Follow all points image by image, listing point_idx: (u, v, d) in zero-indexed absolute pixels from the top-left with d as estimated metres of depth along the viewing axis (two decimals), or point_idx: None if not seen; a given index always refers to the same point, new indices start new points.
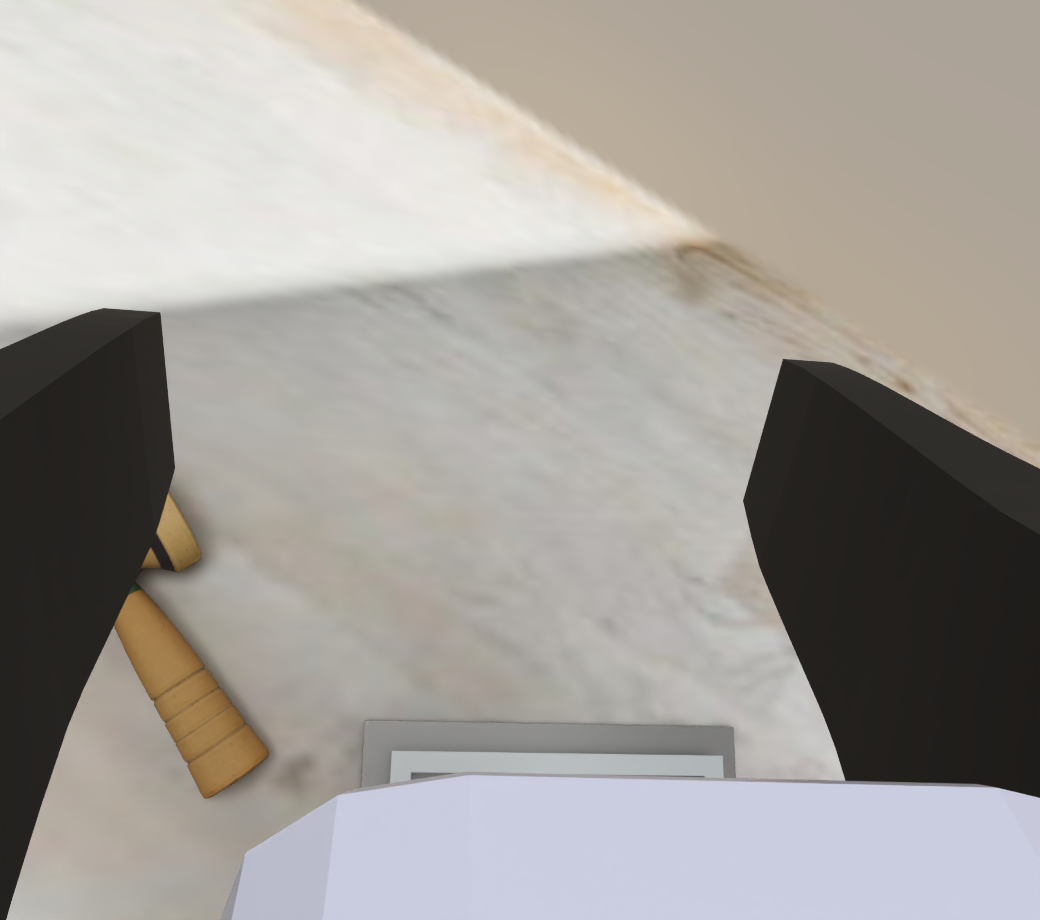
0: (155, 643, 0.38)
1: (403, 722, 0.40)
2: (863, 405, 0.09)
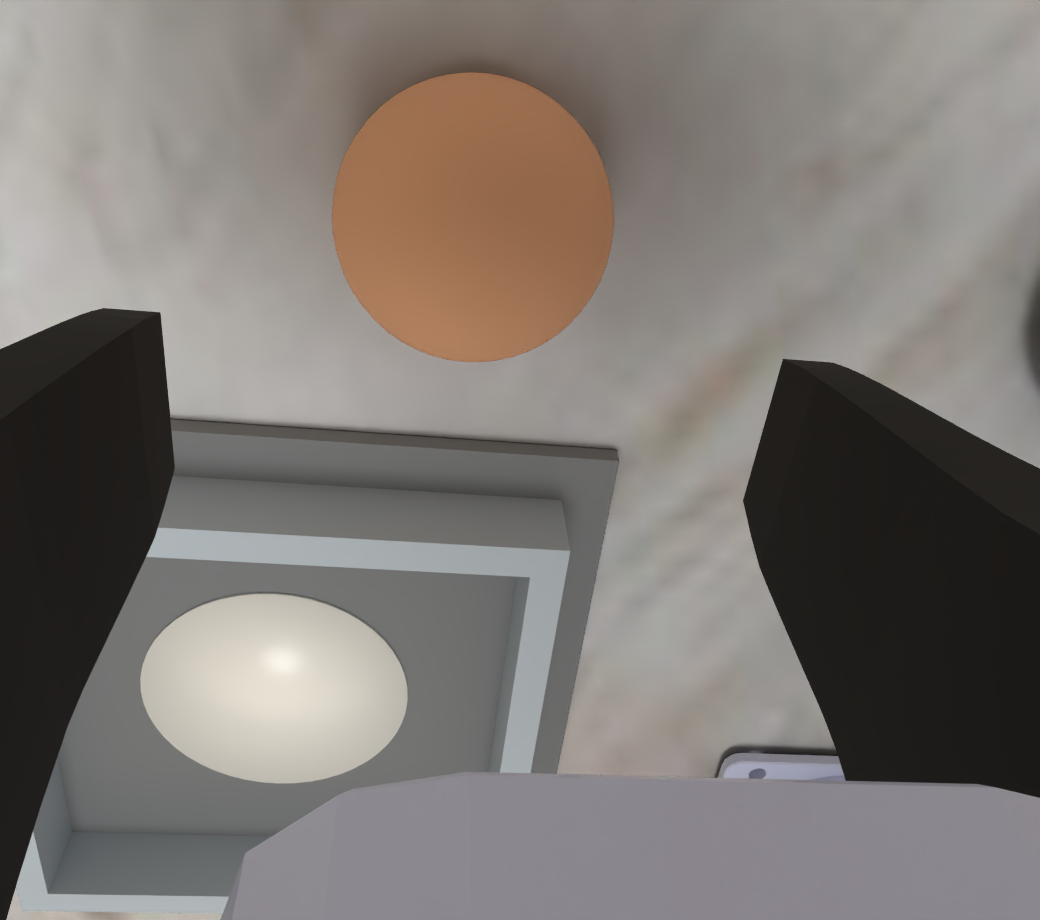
0: None
1: None
2: (863, 405, 0.09)
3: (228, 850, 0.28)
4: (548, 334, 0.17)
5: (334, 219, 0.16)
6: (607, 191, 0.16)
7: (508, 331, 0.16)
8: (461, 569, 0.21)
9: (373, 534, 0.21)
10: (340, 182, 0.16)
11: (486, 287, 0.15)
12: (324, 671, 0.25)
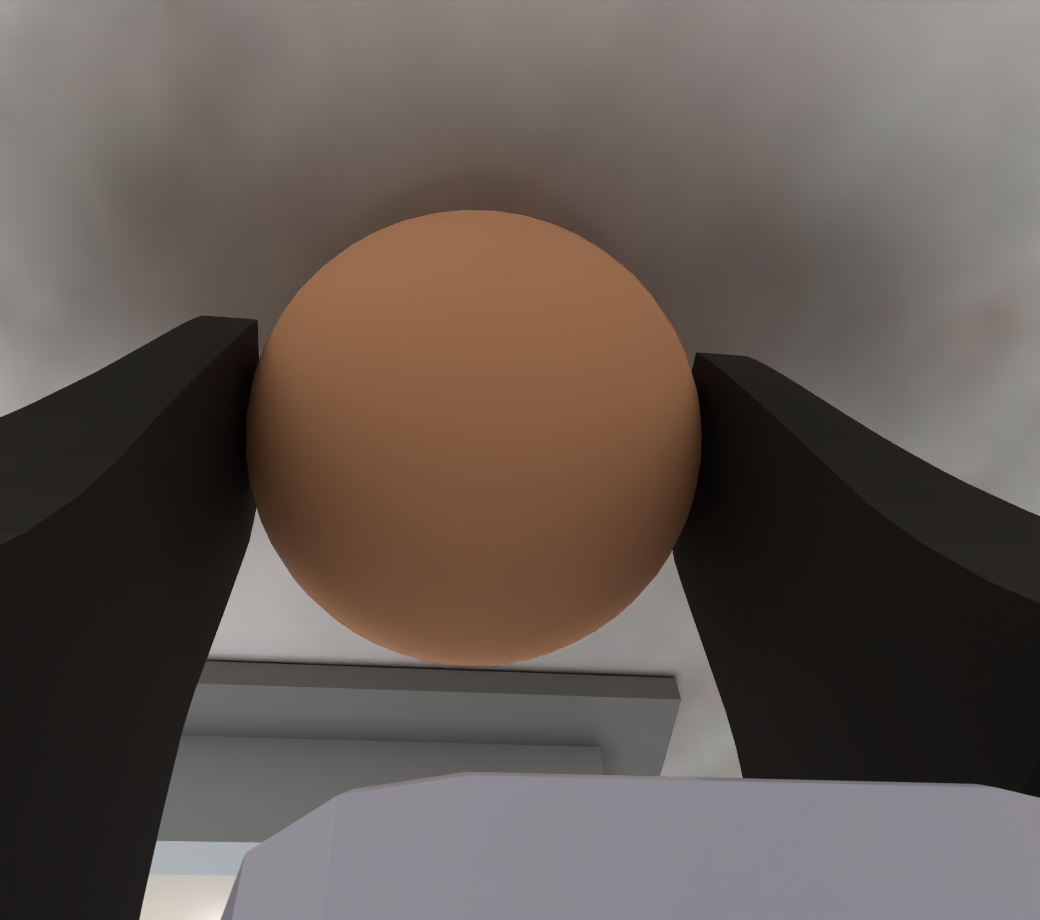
0: None
1: None
2: (761, 398, 0.09)
3: None
4: None
5: (246, 454, 0.10)
6: (695, 405, 0.10)
7: (534, 647, 0.10)
8: None
9: None
10: (253, 400, 0.10)
11: (498, 601, 0.09)
12: None
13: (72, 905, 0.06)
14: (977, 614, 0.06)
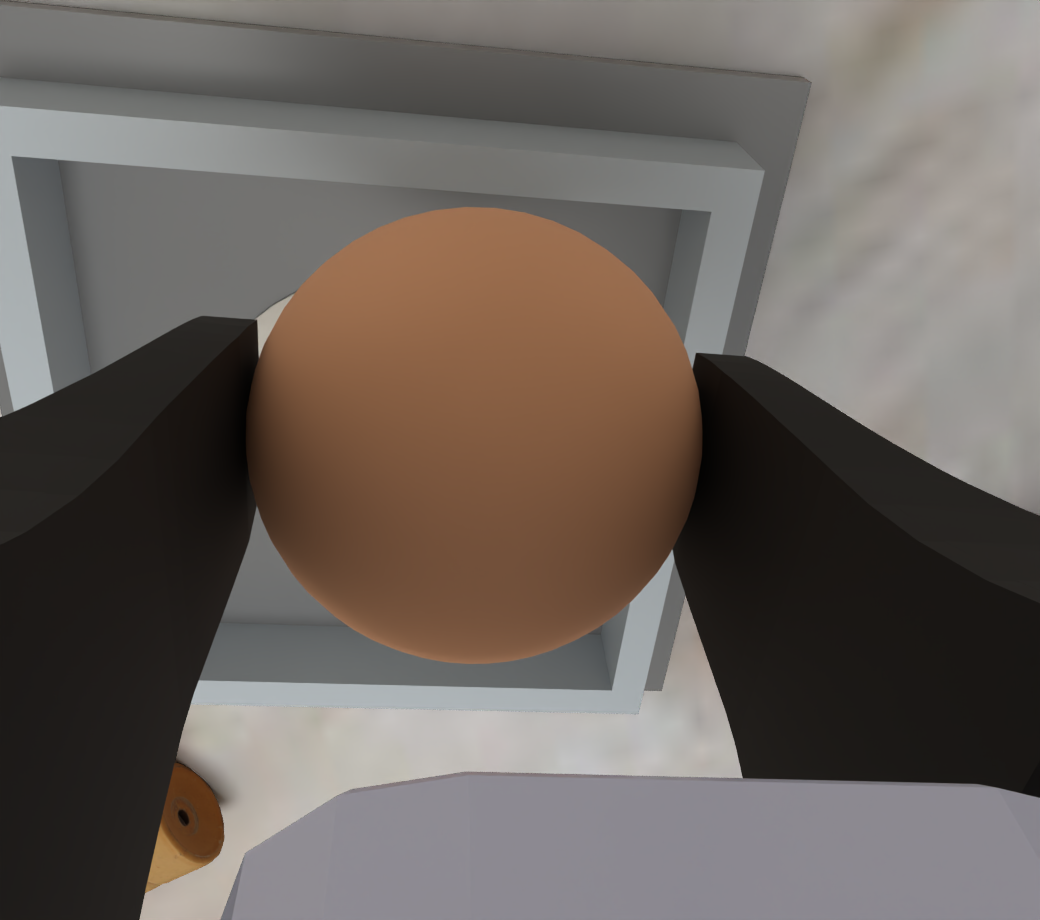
0: None
1: None
2: (761, 398, 0.09)
3: (312, 640, 0.24)
4: (598, 626, 0.10)
5: (247, 451, 0.10)
6: (696, 403, 0.10)
7: (534, 645, 0.10)
8: (627, 197, 0.17)
9: (519, 147, 0.17)
10: (253, 397, 0.10)
11: (498, 597, 0.09)
12: None
13: (72, 905, 0.06)
14: (977, 614, 0.06)
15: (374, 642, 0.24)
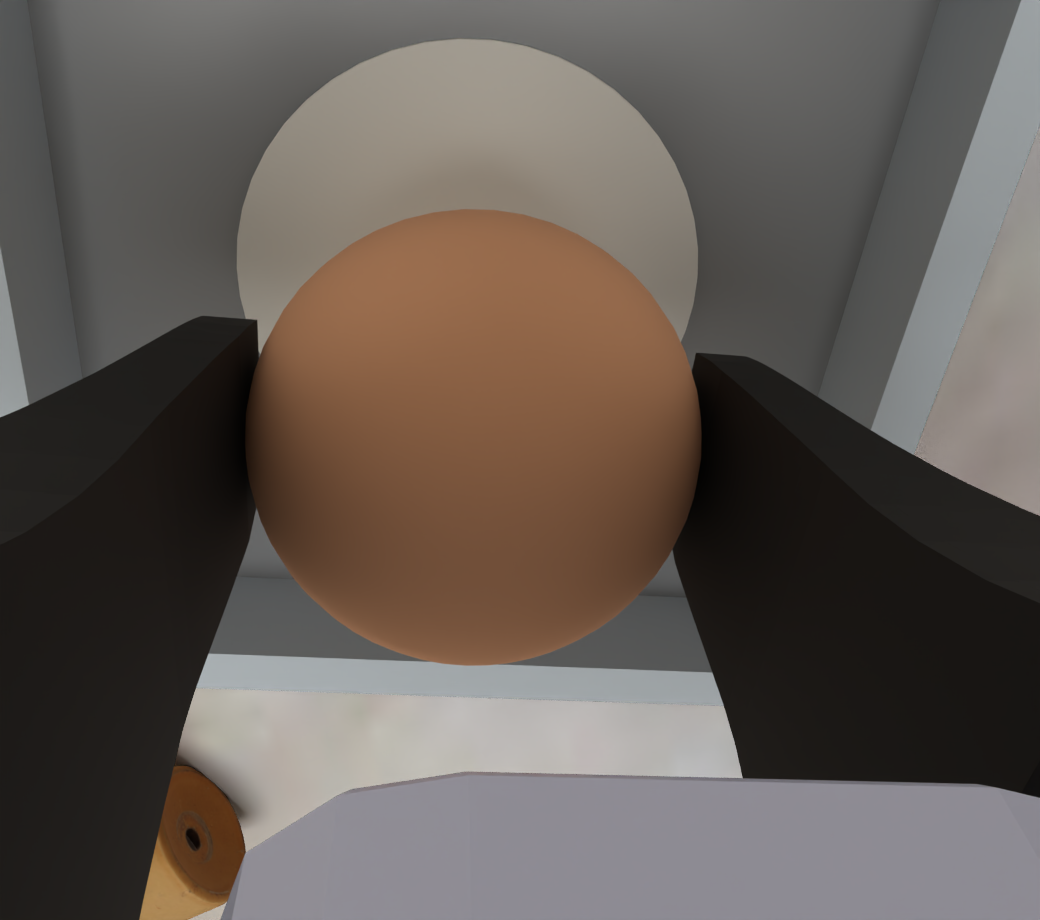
0: None
1: None
2: (761, 398, 0.09)
3: None
4: (598, 628, 0.10)
5: (246, 454, 0.10)
6: (695, 405, 0.10)
7: (534, 647, 0.10)
8: None
9: None
10: (253, 399, 0.10)
11: (498, 600, 0.09)
12: None
13: (72, 904, 0.06)
14: (977, 614, 0.06)
15: None
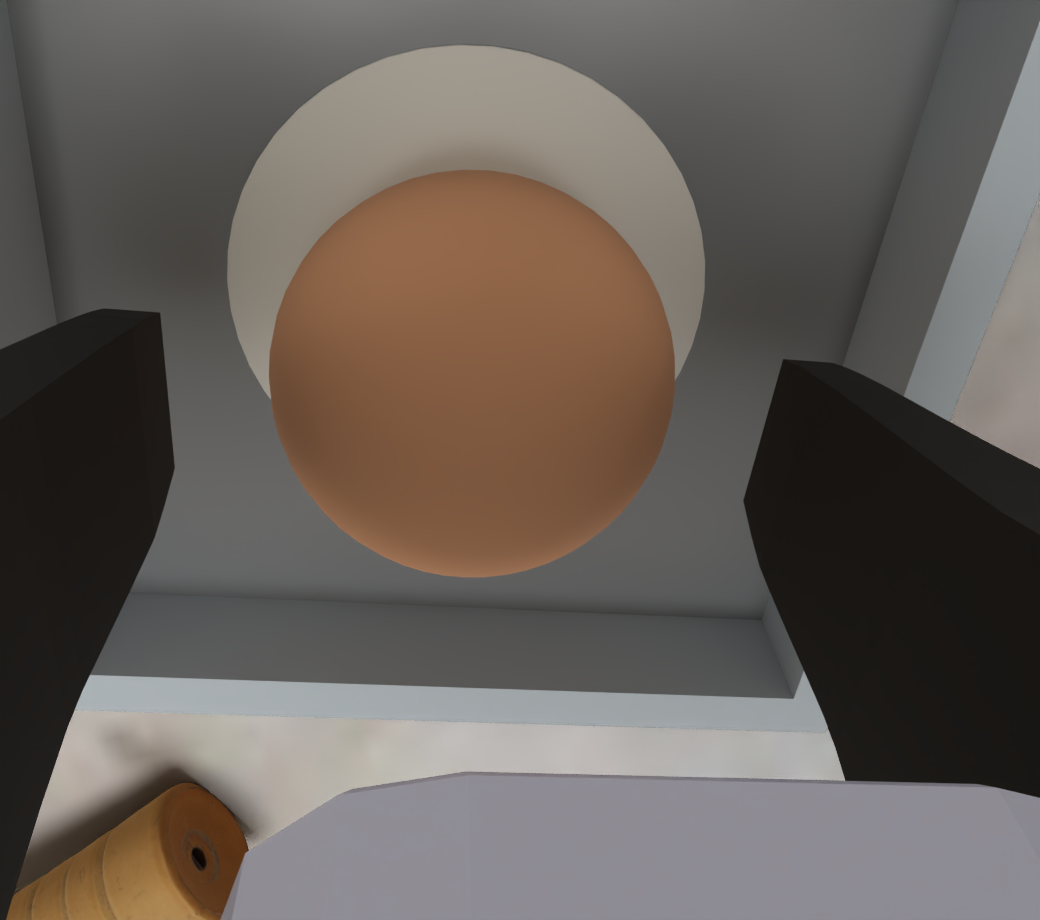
0: None
1: None
2: (863, 405, 0.09)
3: (361, 622, 0.17)
4: (583, 544, 0.12)
5: (270, 386, 0.11)
6: (669, 342, 0.11)
7: (527, 554, 0.11)
8: None
9: None
10: (277, 336, 0.11)
11: (494, 506, 0.10)
12: None
13: None
14: None
15: (448, 626, 0.17)
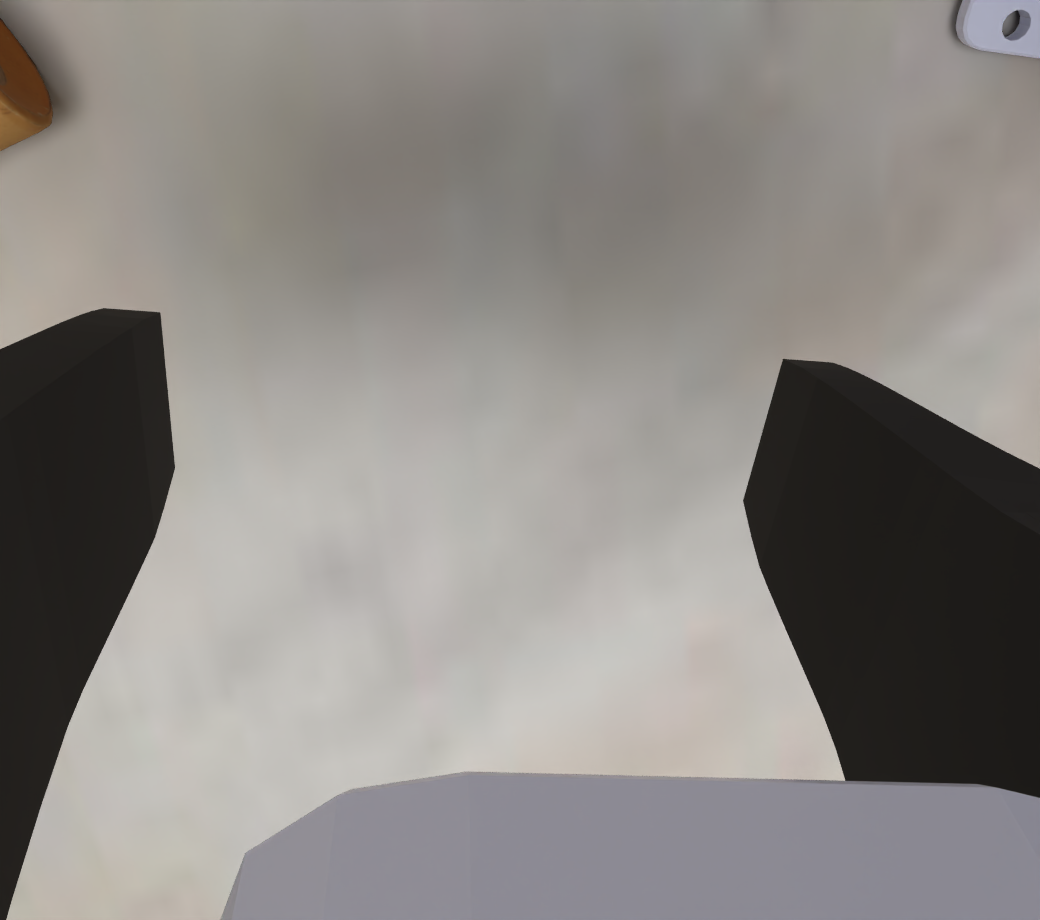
0: None
1: None
2: (863, 405, 0.09)
3: None
4: None
5: None
6: None
7: None
8: None
9: None
10: None
11: None
12: None
13: None
14: None
15: None
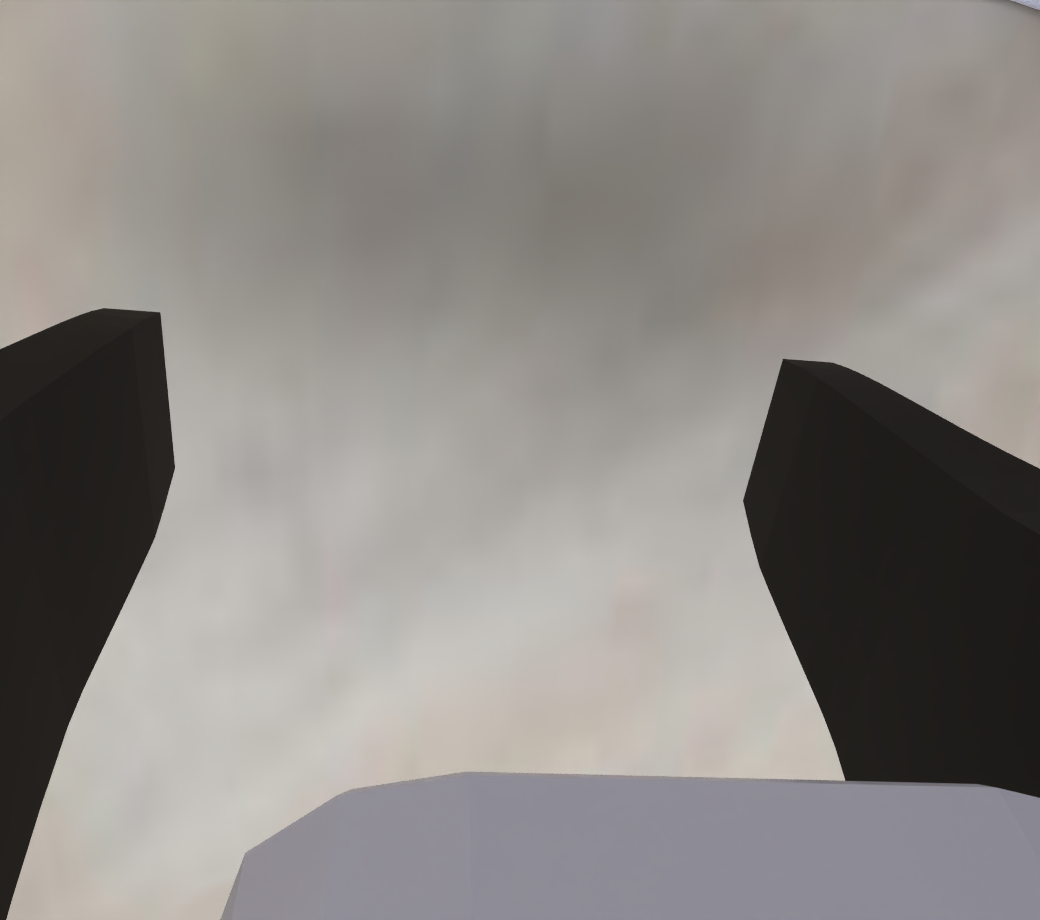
0: None
1: None
2: (863, 405, 0.09)
3: None
4: None
5: None
6: None
7: None
8: None
9: None
10: None
11: None
12: None
13: None
14: None
15: None
